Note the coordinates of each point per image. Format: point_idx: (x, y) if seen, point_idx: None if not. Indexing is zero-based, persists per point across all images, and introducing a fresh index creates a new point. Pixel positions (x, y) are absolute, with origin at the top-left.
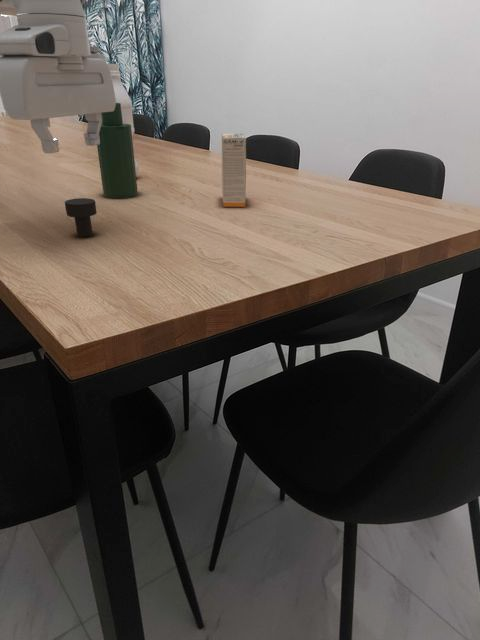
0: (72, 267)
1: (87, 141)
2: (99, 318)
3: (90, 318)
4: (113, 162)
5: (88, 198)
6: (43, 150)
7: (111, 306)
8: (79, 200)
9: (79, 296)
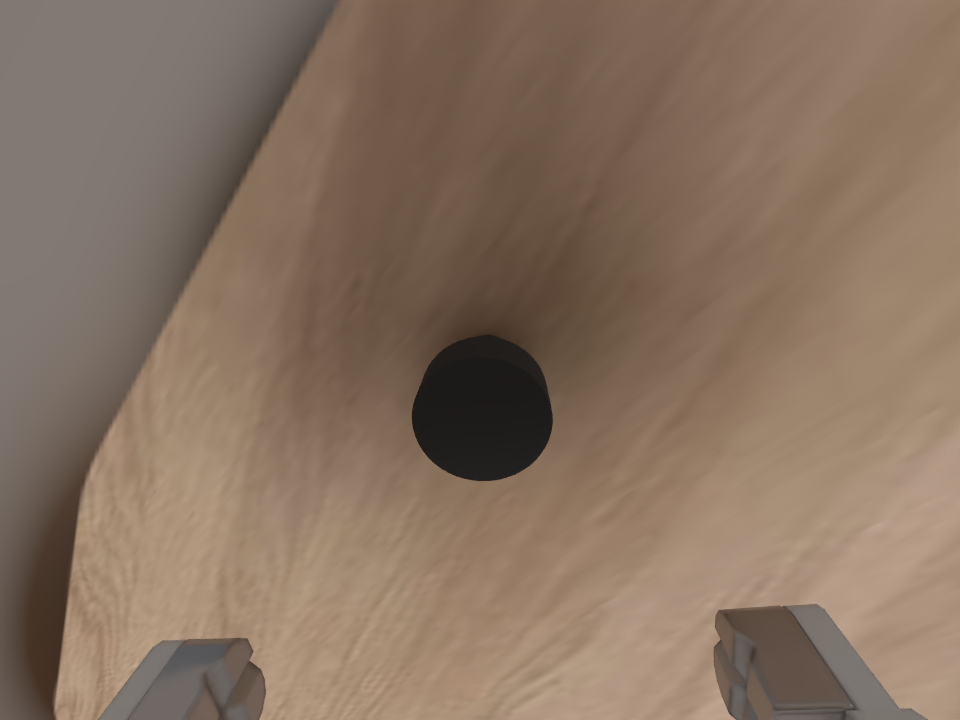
0: (254, 534)
1: (731, 651)
2: None
3: None
4: None
5: (551, 412)
6: (155, 651)
7: None
8: (493, 409)
9: None
